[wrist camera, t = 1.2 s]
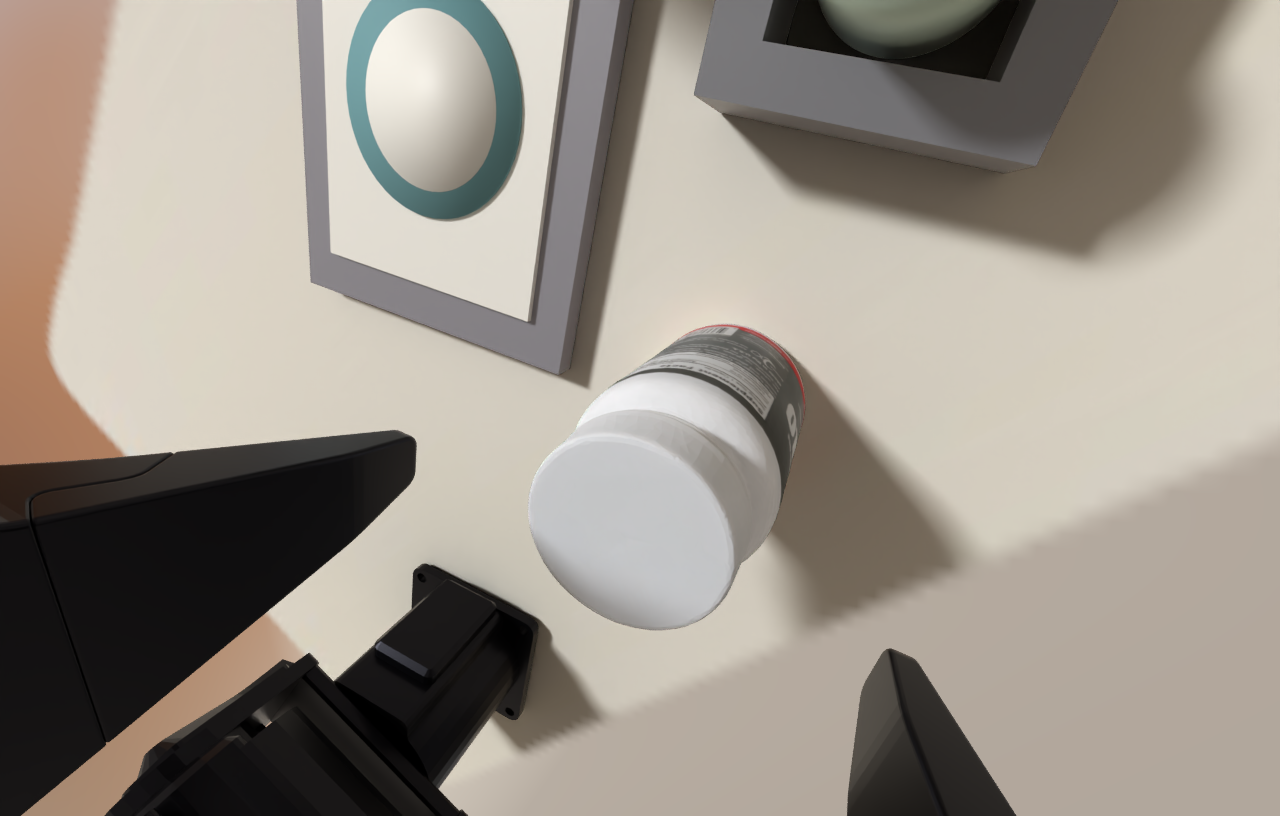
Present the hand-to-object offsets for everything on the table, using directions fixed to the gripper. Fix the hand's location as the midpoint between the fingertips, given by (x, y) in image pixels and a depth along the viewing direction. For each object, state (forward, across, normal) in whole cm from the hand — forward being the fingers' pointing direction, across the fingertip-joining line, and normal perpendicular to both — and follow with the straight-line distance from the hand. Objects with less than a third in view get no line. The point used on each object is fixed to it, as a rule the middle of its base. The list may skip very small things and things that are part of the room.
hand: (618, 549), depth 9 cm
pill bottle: (+9, 0, 0) cm, 9 cm away
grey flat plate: (+8, +11, -6) cm, 15 cm away
